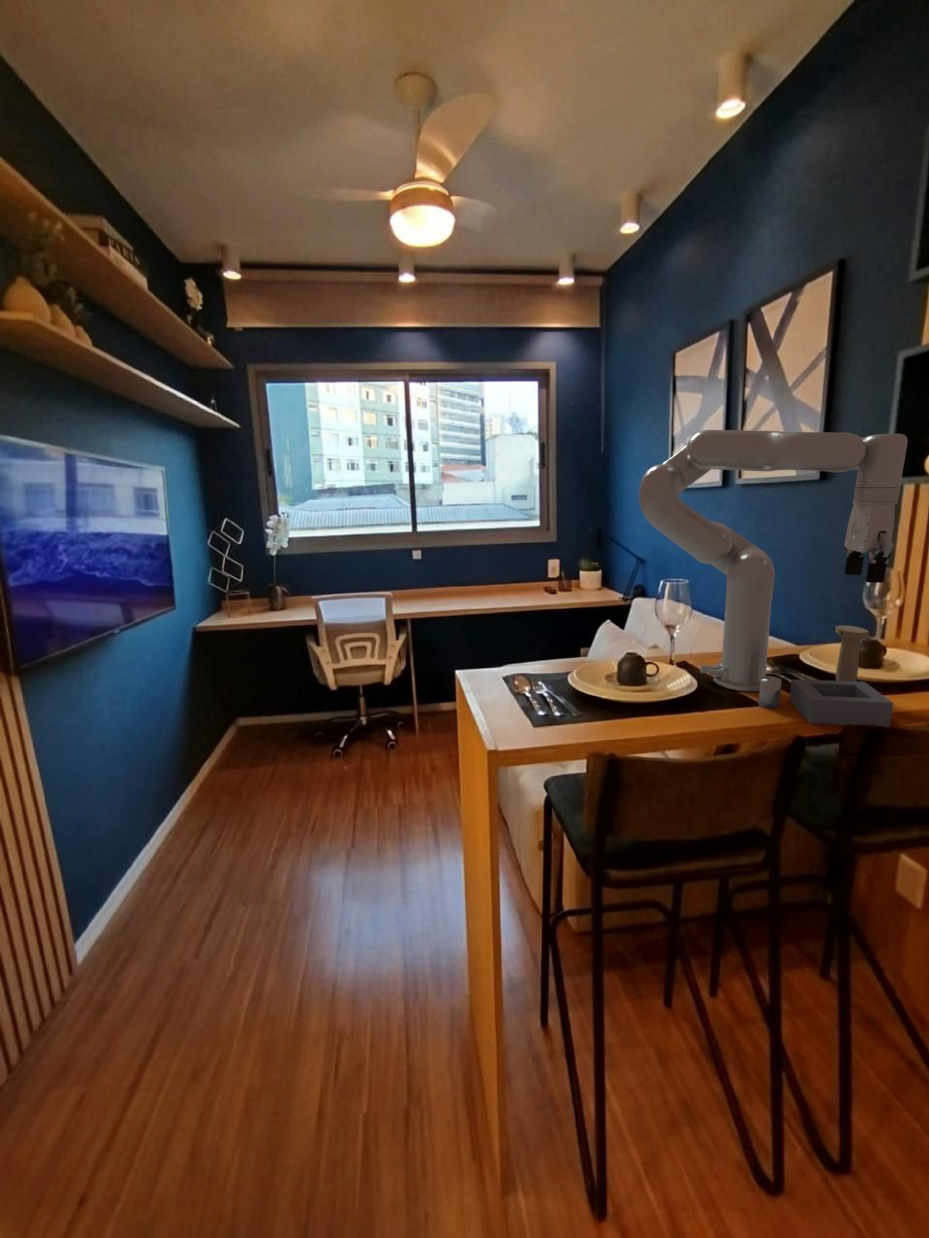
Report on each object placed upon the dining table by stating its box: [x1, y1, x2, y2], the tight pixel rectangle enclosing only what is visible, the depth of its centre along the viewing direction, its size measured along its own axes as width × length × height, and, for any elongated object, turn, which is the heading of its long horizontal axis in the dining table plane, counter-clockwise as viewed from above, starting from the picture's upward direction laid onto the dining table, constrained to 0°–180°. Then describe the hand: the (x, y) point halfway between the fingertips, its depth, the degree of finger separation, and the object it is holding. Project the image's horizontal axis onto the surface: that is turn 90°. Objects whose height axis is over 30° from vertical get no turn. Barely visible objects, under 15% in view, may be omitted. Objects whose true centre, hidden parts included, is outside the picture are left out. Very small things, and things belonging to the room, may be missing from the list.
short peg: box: [757, 675, 782, 710], centre depth 121 cm, size 4×4×6 cm
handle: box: [834, 624, 870, 682], centre depth 125 cm, size 5×6×15 cm
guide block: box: [789, 679, 894, 728], centre depth 116 cm, size 14×12×5 cm
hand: (863, 578), depth 121 cm, fingers open, 9 cm apart
